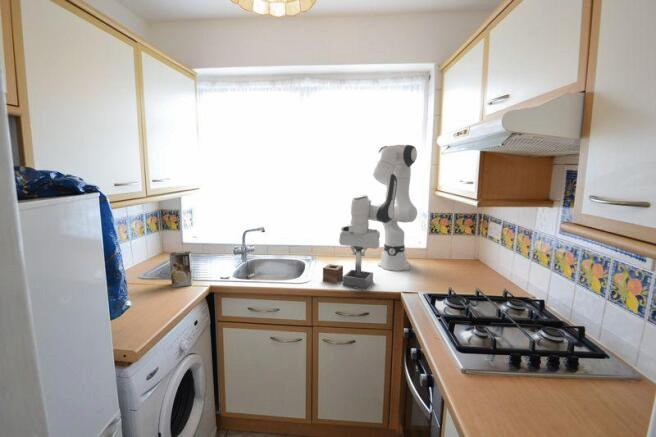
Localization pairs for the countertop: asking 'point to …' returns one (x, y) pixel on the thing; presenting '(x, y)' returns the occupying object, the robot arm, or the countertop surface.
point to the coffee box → (181, 269)
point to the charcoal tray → (358, 279)
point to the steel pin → (358, 260)
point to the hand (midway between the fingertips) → (358, 255)
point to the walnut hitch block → (333, 273)
